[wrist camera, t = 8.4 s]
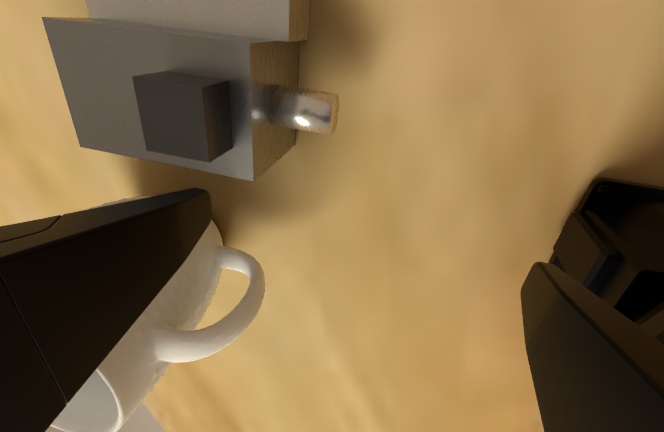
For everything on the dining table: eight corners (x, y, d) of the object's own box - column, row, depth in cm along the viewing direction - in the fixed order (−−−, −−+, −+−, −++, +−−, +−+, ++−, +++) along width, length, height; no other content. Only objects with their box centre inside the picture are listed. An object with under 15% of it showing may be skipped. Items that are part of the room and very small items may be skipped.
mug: (286, 177, 23) (151, 319, 12) (300, 300, 28) (216, 478, 17) (107, 167, 26) (-127, 268, 15) (150, 278, 32) (-1, 413, 20)
